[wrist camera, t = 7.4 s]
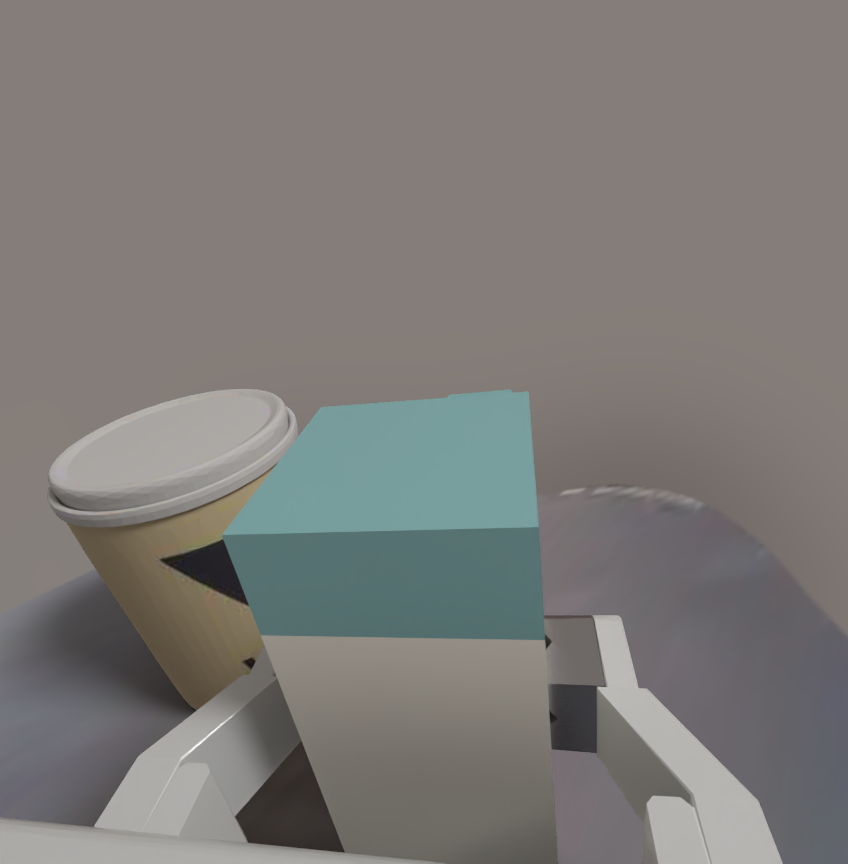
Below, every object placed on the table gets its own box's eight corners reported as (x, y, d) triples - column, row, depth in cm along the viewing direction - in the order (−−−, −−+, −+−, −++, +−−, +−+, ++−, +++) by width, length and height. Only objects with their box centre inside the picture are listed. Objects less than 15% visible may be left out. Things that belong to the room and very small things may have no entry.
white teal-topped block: (384, 955, 12) (221, 535, 7) (413, 775, 15) (321, 407, 10) (564, 980, 11) (538, 526, 6) (551, 784, 15) (528, 391, 9)
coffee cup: (280, 766, 20) (167, 509, 15) (116, 707, 24) (-20, 485, 19) (385, 595, 28) (333, 385, 23) (247, 570, 31) (176, 386, 26)
